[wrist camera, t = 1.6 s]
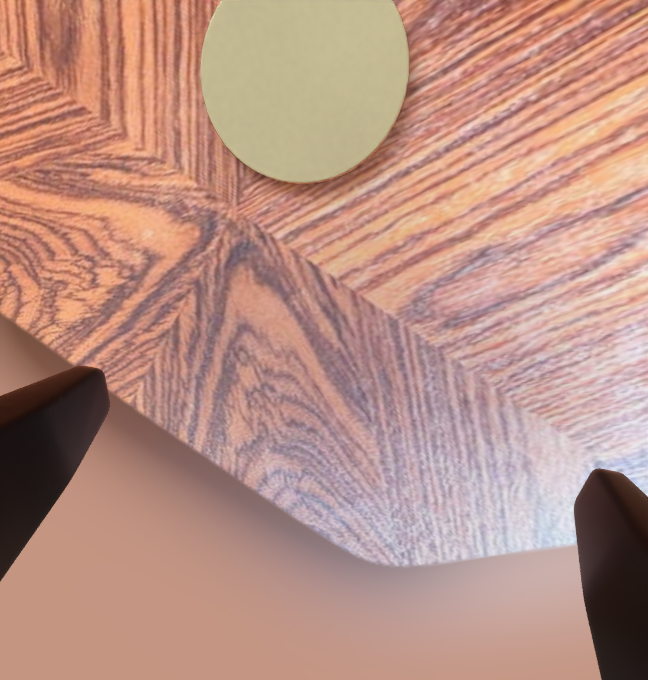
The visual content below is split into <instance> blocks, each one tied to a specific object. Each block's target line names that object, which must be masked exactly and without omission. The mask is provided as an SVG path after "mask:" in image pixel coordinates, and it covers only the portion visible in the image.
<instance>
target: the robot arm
mask: <svg viewBox="0 0 648 680" xmlns="http://www.w3.org/2000/svg"><path fill="white" fill-rule="evenodd" d="M109 407H110V400H109V395H108V390H107V384H106V379H105V375H104V373H103V371H102V370H100V369H98V368H93V367H88V366H77V367H74V368H72V369H69V370H67V371H64V372H61V373H59V374H56V375H54V376H51V377H48V378H46V379H43V380H41V381H38V382H36V383H33V384H30V385H28V386H25V387H23V388H20V389H17V390H15V391H12V392H10V393H7V394H4V395H2V396H0V581H1V579H2V578H3V577H4V575H5V574H6V573H7V571H8V570H9V568H10V567H11V565H12V564H13V563H14V561H15V560H16V558H17V557H18V555H19V554H20V552H21V551H22V550H23V548H24V547H25V545H26V544H27V542H28V541H29V539H30V538H31V537H32V535H33V534H34V532H35V531H36V530H37V528H38V527H39V525H40V524H41V522H42V521H43V520H44V518H45V517H46V515H47V514H48V512H49V511H50V510H51V508H52V506H53V505H54V504H55V502H56V501H57V500H58V498H59V497H60V495H61V494H62V492H63V491H64V489H65V488H66V486H67V485H68V483H69V482H70V480H71V479H72V477H73V475H74V474H75V472H76V470H77V468H78V466H79V465H80V463H81V461H82V459H83V458H84V456H85V454H86V452H87V450H88V448H89V446H90V445H91V443H92V441H93V439H94V438H95V436H96V434H97V432H98V430H99V429H100V427H101V425H102V423H103V422H104V420H105V418H106V416H107V414H108V411H109ZM574 517H575V526H576V535H577V545H578V554H579V563H580V572H581V581H582V588H583V596H584V602H585V607H586V612H587V616H588V621H589V626H590V630H591V634H592V639H593V643H594V648H595V652H596V657H597V660H598V665H599V670H600V674H601V678H602V680H648V497H647V496H646V495H645V494H644V493H643V492H642V491H641V490H640V489H639V488H638V487H637V486H636V485H635V484H634V483H633V482H632V481H630V480H629V479H628V478H627V477H626V476H625V475H624V474H622V473H619V472H616V471H611V470H606V469H600V468H599V469H595V470H593V471H592V472H591V474H590V475H589V477H588V479H587V481H586V482H585V484H584V486H583V488H582V489H581V491H580V493H579V495H578V496H577V498H576V501H575V505H574Z"/></svg>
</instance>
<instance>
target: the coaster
mask: <svg viewBox="0 0 648 680" xmlns="http://www.w3.org/2000/svg"><path fill="white" fill-rule="evenodd" d="M408 78H409V47H408V41H407V36H406V31H405V28H404V25H403V22H402V18H401V16H400V14H399V12H398V10H397V7H396V5H395V3H394V2H393V0H221V2H220V4H219V5H218V7H217V8H216V10H215V12H214V15H213V17H212V19H211V21H210V23H209V26H208V29H207V32H206V35H205V39H204V44H203V48H202V56H201V86H202V94H203V98H204V102H205V106H206V110H207V112H208V115H209V118H210V120H211V123H212V125H213V126H214V128H215V130H216V132H217V134H218V136H219V137H220V138H221V140H222V141H223V143H224V144H225V146H226V147H227V148H228V149H229V150H230V151H231V152H232V153H233V154H234V156H236V157H237V158H238V159H239V160H240V161H241V162H243V163H244V164H245V165H247V166H248V167H250V168H251V169H253V170H254V171H256V172H258V173H260V174H262V175H264V176H266V177H269V178H271V179H274V180H277V181H281V182H286V183H292V184H314V183H321V182H325V181H329V180H333V179H335V178H338V177H340V176H342V175H345V174H347V173H348V172H350V171H352V170H354V169H355V168H357V167H358V166H360V165H361V164H362V163H364V162H365V161H366V160H368V159H369V158H370V157H371V156H372V155H373V154H374V153H375V152H376V151H377V150H378V149H379V147H380V146H381V145H382V144H383V142H384V141H385V140H386V139H387V137H388V135H389V134H390V132H391V131H392V129H393V127H394V126H395V123H396V121H397V119H398V117H399V115H400V112H401V109H402V106H403V103H404V100H405V96H406V91H407V86H408Z"/></svg>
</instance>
